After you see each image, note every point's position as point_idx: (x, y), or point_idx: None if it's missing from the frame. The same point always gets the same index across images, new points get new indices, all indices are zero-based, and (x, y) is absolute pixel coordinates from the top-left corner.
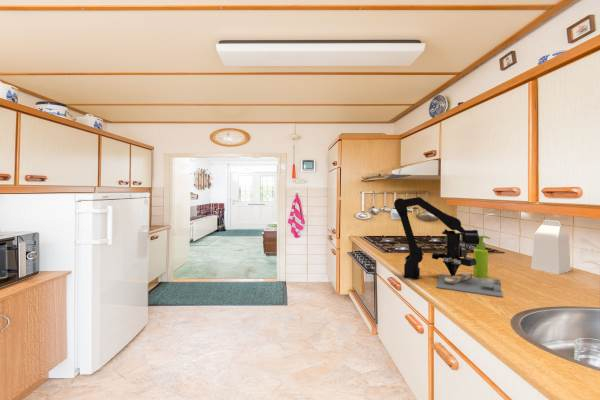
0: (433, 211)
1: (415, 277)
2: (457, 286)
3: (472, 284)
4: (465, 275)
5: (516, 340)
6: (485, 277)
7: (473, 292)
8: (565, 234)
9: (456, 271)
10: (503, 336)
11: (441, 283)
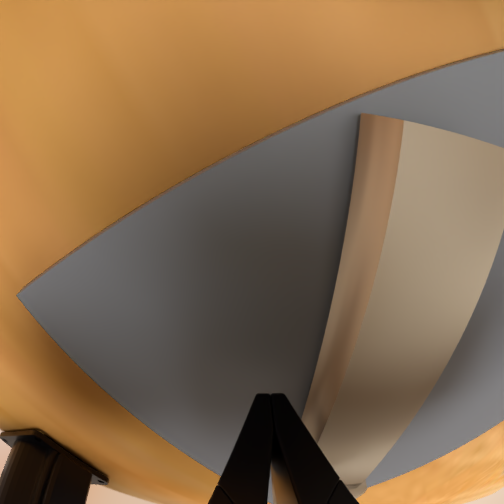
0: None
1: (92, 479)
2: (382, 460)
3: (480, 357)
4: (447, 356)
5: (496, 480)
6: None
7: (468, 440)
8: None
9: (326, 461)
10: (483, 488)
11: (271, 485)
